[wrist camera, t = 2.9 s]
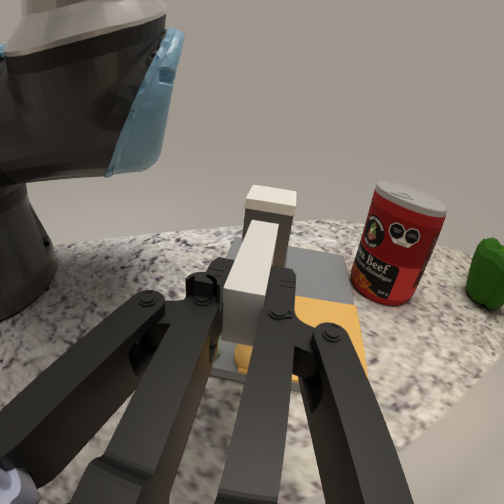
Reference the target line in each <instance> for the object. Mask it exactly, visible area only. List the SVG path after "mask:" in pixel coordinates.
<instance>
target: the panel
mask: <svg viewBox="0 0 504 504" xmlns="http://www.w3.org/2000/svg"><path fill="white" fill-rule="evenodd" d="M241 245H242V238H239V237H235V239H234V241H233V243H232V245H231V247H230V250H229V252H228V254H227V256H226V259H232V260H235V259H236V257H237V254H238V252H239V249H240V247H241ZM284 268H290V269H293V271H294V273H295V274H296V292H295V314H296V316H297V317H298V318H299V319H300V320H301V321H302V322H304V323H306V324H308V325H310V326H312V327H316V326H317V325H319V324H320V323H325V322H330V323H335V324H338V325H340V326H341V327H343V328H344V329H345V330H346V331H347V333H348V334H349V337H350V339H351V341H352V343H353V346H354V348H355V350H356V352H357V355H358V357H359V359H360V362H361V364H362V366H363V369H364V371H365V373H366V376H367V378H368V374H367V367H366V360H365V353H364V347H363V341H362V335H361V330H360V324H359V319H358V314H357V308H356V305H354V301H353V296H352V291H351V286H350V281H349V277H348V272H347V268H346V263H345V259H344V256H342V255H336V254H330V253H325V252H319V251H314V250H308V249H303V248H297V247H291V246H288V247H287V252H286V257H285V262H284ZM252 348H253V346H248V345H242V344H237V343H232V342H227V341H222V340H221V335H220V337H219V340H218V351H217V354H216V357H215V360H214V363H213V365H212V368H211V371H210V374H209V375H212V376H217V377H221V378H226V379H230V380H235V381H240V382H245V379H246V375H247V370H248V366H249V362H250V357H251V353H252ZM291 390H294V391H301V390H300V386H299V381H298V376H296V375H293V374H292V382H291Z"/></svg>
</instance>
